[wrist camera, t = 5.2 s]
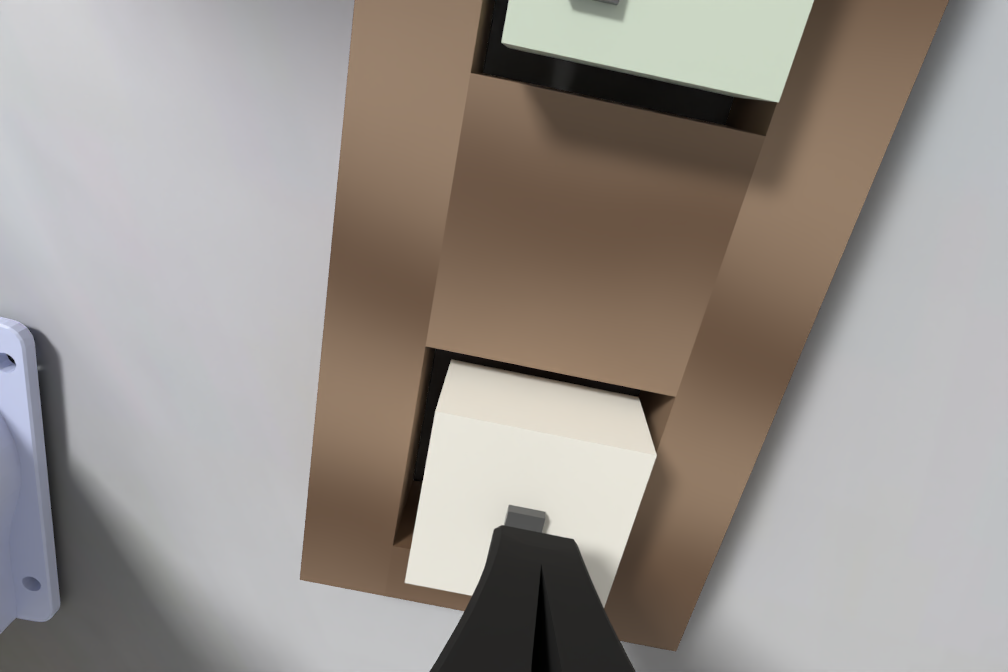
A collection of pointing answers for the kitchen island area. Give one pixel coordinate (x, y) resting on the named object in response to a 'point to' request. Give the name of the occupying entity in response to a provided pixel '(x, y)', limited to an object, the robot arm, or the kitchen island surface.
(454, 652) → the robot arm
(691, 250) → the button panel
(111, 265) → the kitchen island surface
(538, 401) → the one dot button
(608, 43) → the two dot button
